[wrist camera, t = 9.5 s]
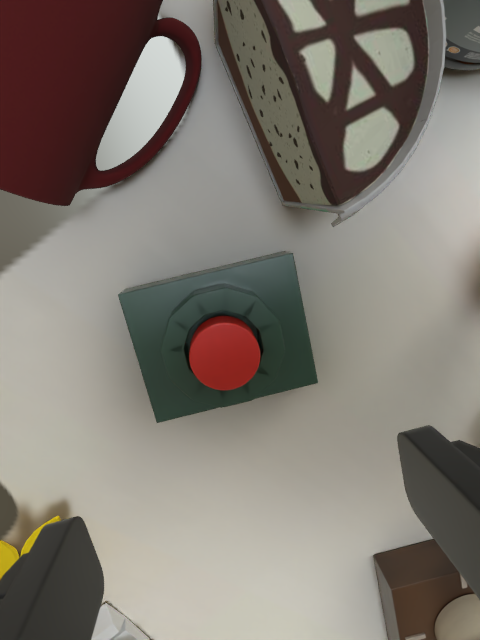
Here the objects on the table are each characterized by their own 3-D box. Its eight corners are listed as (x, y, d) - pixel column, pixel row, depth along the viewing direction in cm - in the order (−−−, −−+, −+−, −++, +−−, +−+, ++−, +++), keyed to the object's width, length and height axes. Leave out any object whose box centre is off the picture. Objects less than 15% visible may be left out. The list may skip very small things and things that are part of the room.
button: (248, 308, 21) (252, 314, 20) (262, 370, 22) (267, 381, 21) (182, 324, 21) (181, 332, 20) (199, 385, 22) (199, 398, 20)
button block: (285, 251, 25) (300, 254, 21) (309, 370, 26) (327, 394, 22) (125, 288, 24) (110, 299, 20) (160, 407, 26) (152, 438, 22)
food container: (384, 184, 24) (504, 153, 14) (292, 228, 24) (350, 226, 15) (306, -36, 21) (391, -261, 12) (202, 14, 21) (200, -166, 12)
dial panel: (500, 520, 30) (533, 552, 27) (508, 615, 32) (540, 655, 29) (372, 553, 30) (391, 590, 27) (389, 647, 32) (409, 691, 29)
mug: (115, 211, 27) (181, 42, 24) (162, 253, 20) (258, 27, 18) (-120, 117, 19) (-59, -142, 17) (-167, 134, 13) (-79, -287, 10)
